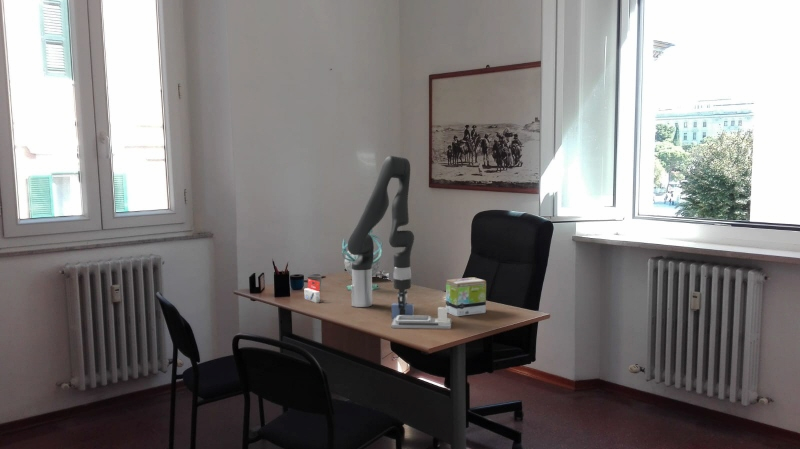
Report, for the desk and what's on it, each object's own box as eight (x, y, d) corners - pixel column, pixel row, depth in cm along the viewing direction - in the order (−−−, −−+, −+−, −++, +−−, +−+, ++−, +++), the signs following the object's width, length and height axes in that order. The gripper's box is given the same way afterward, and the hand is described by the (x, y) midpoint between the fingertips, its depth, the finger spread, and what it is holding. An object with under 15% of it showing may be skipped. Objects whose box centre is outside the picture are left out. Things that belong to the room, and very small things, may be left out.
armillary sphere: (359, 280, 363) (360, 218, 357) (392, 290, 345) (394, 224, 339) (329, 287, 347) (329, 222, 342) (362, 297, 330) (363, 228, 324)
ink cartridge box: (316, 302, 312) (315, 282, 311) (304, 298, 321) (303, 279, 320) (320, 302, 314) (320, 281, 313) (308, 298, 322) (308, 278, 321)
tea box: (457, 317, 281) (457, 283, 279) (445, 312, 290) (445, 279, 288) (486, 313, 288) (486, 279, 286) (473, 308, 297) (473, 276, 295)
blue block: (391, 318, 280) (391, 305, 279) (392, 316, 284) (392, 302, 283) (412, 319, 279) (412, 305, 278) (413, 316, 283) (413, 303, 282)
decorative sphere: (386, 279, 366) (386, 244, 364) (355, 283, 355) (354, 247, 353) (368, 274, 383) (368, 240, 380) (338, 278, 372) (337, 243, 370)
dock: (391, 327, 265) (391, 310, 265) (394, 320, 277) (394, 304, 276) (450, 328, 263) (450, 311, 262) (451, 321, 275) (451, 304, 274)
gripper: (395, 274, 287) (395, 312, 289) (391, 280, 273) (392, 320, 275) (412, 274, 286) (412, 312, 288) (409, 280, 272) (410, 320, 274)
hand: (402, 316), depth 281 cm, fingers closed on blue block, 4 cm apart
